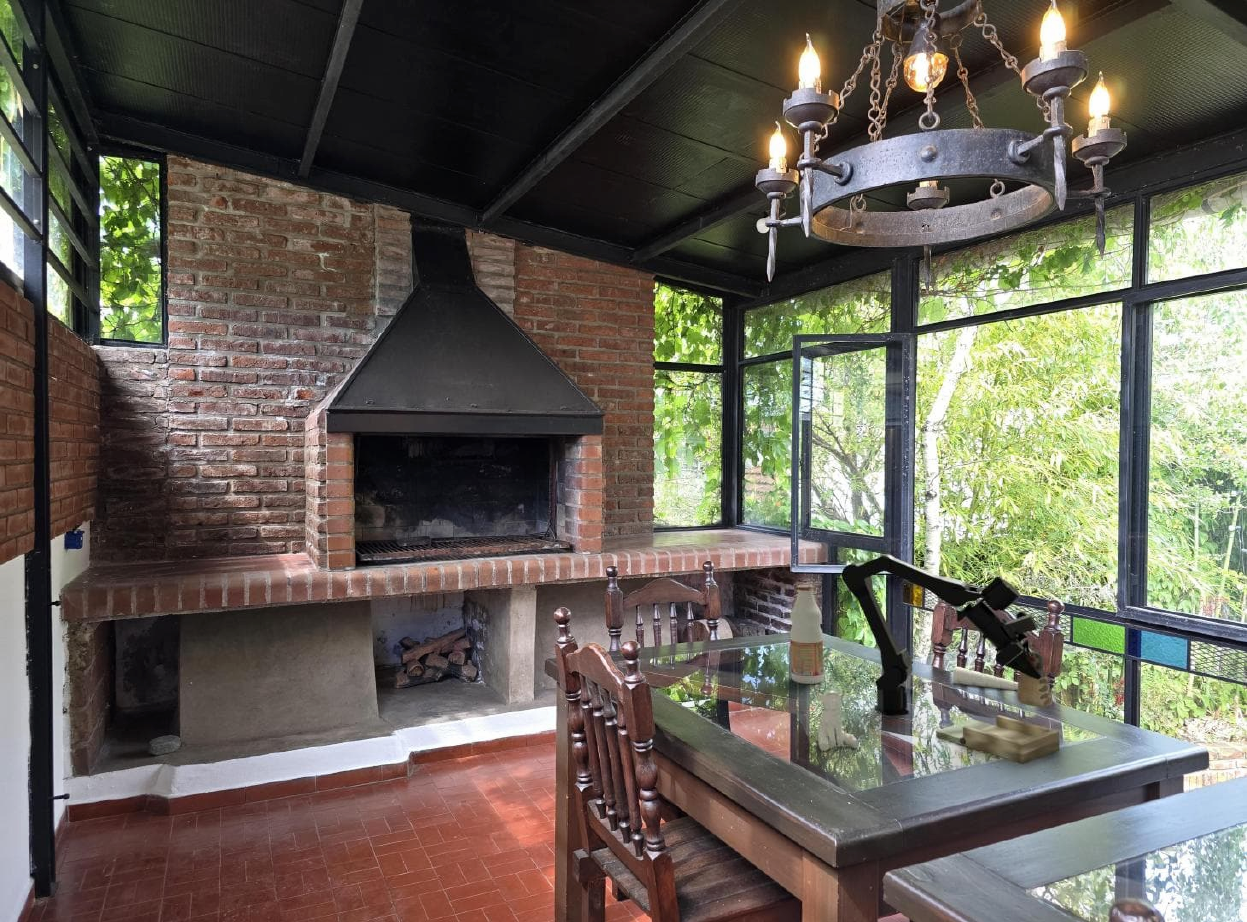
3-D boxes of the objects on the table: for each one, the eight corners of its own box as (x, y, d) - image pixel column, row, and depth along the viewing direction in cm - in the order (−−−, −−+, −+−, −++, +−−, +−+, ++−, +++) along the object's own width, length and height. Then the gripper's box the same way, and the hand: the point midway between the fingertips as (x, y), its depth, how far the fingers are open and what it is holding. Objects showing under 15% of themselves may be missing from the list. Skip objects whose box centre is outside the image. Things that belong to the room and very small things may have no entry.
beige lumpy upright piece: (821, 752, 174) (819, 698, 174) (804, 739, 183) (803, 687, 183) (860, 748, 176) (858, 695, 176) (842, 735, 184) (840, 684, 184)
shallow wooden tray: (935, 736, 182) (935, 719, 182) (972, 724, 190) (972, 707, 190) (1022, 764, 164) (1022, 745, 164) (1059, 749, 172) (1059, 731, 172)
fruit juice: (799, 685, 226) (797, 589, 226) (786, 677, 235) (783, 584, 235) (829, 683, 228) (827, 587, 228) (815, 674, 237) (812, 582, 237)
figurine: (1055, 701, 184) (1054, 651, 184) (1046, 709, 179) (1045, 657, 179) (1022, 695, 189) (1022, 646, 189) (1013, 702, 184) (1012, 652, 184)
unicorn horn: (1044, 697, 210) (1044, 679, 210) (951, 685, 224) (951, 668, 224) (1047, 693, 214) (1046, 675, 214) (955, 681, 228) (955, 664, 228)
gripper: (1010, 608, 178) (1067, 662, 173) (1017, 596, 194) (1069, 645, 189) (973, 639, 182) (1027, 693, 177) (983, 624, 198) (1032, 673, 193)
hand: (1040, 675), depth 184 cm, fingers closed on figurine, 6 cm apart
